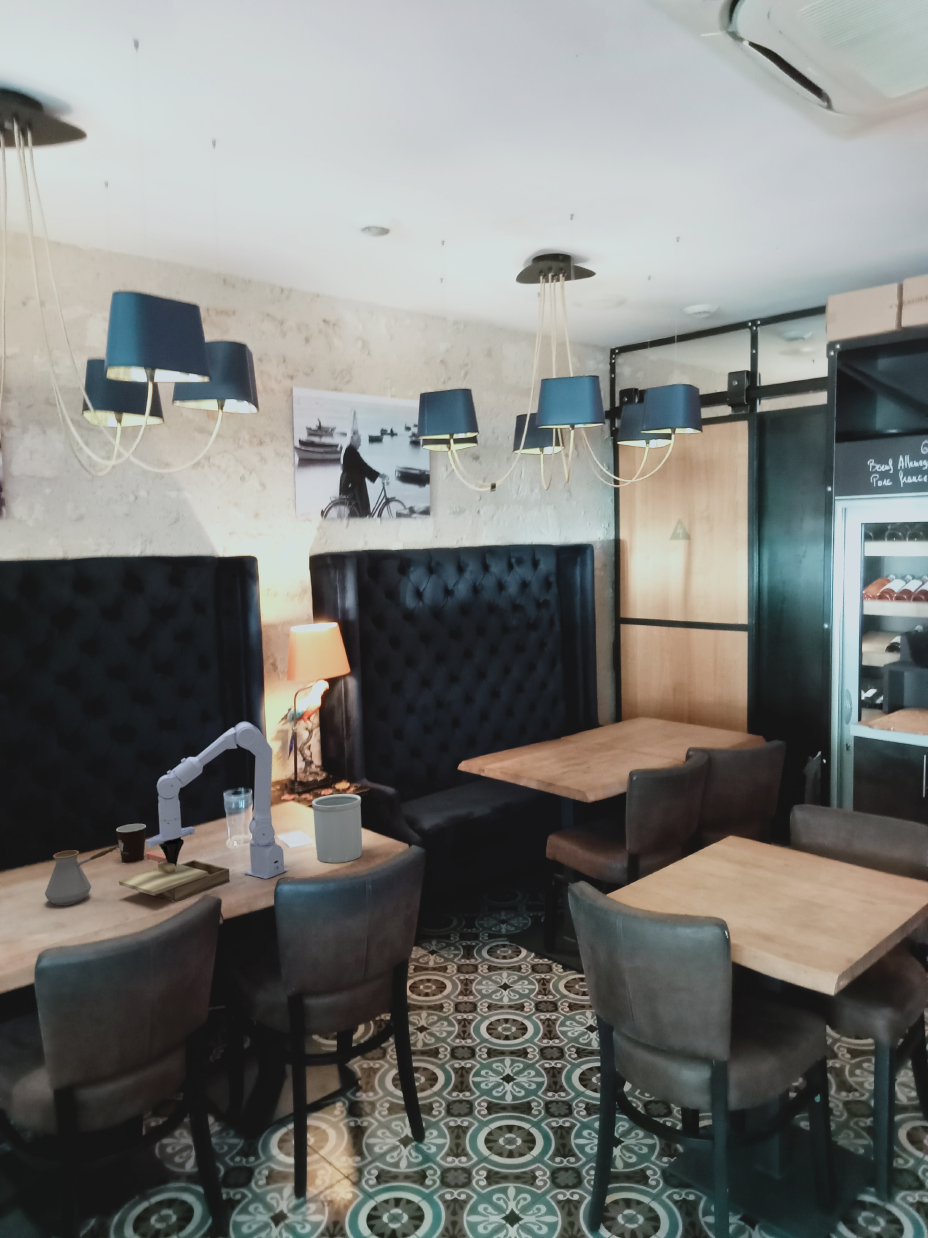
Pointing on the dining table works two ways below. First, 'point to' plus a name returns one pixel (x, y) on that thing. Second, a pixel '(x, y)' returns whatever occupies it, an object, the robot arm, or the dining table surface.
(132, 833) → the coffee mug
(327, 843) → the utensil holder
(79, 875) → the coffee pot
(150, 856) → the pink bar
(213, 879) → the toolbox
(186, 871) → the lid
